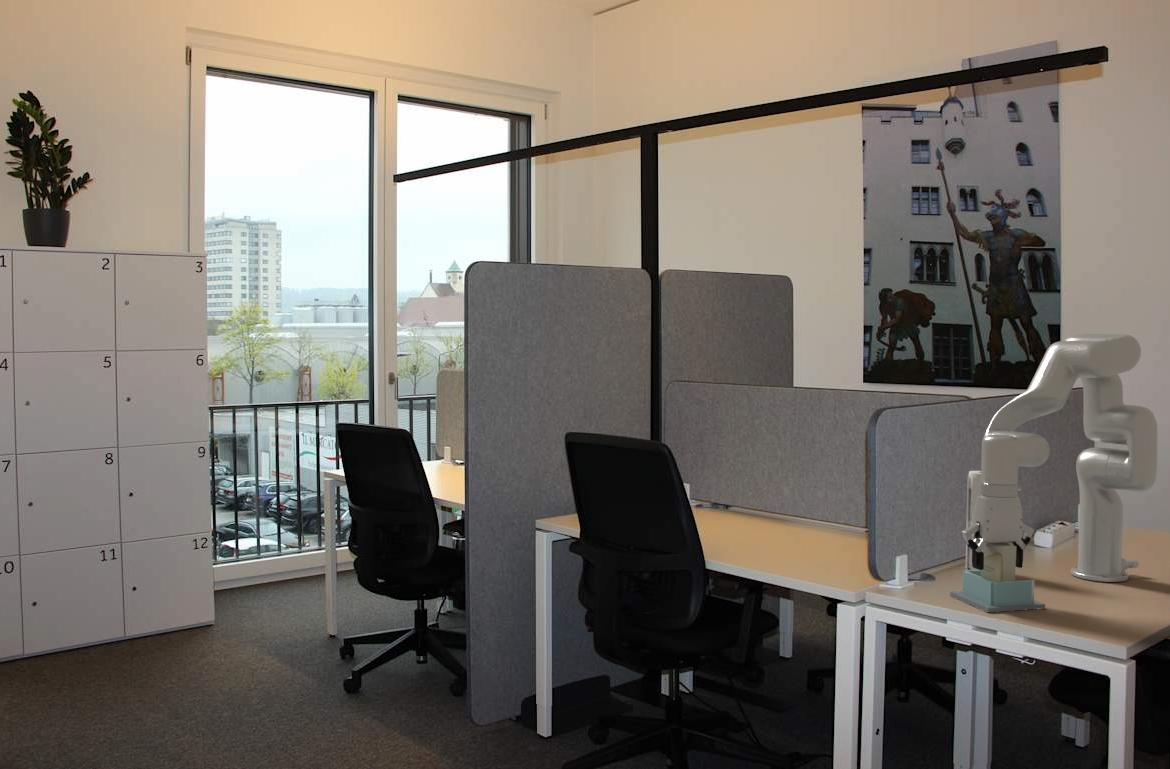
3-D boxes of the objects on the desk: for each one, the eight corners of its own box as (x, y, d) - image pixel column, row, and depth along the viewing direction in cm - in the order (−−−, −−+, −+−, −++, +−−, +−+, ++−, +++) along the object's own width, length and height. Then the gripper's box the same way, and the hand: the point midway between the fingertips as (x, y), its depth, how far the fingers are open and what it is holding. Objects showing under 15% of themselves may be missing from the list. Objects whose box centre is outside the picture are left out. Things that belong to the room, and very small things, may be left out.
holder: (1004, 592, 230) (1005, 566, 230) (1045, 608, 217) (1045, 581, 216) (950, 595, 227) (950, 569, 227) (987, 612, 214) (988, 585, 213)
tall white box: (995, 574, 247) (997, 473, 246) (967, 572, 249) (969, 473, 247) (990, 567, 254) (992, 470, 252) (963, 566, 255) (965, 469, 254)
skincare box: (979, 595, 224) (980, 541, 223) (995, 593, 226) (996, 540, 225) (1000, 602, 218) (1001, 547, 218) (1016, 600, 220) (1017, 545, 219)
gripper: (1022, 487, 226) (1020, 561, 227) (954, 489, 222) (952, 565, 223) (1044, 492, 219) (1042, 569, 220) (974, 495, 215) (972, 573, 216)
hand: (997, 567), depth 221 cm, fingers open, 9 cm apart
